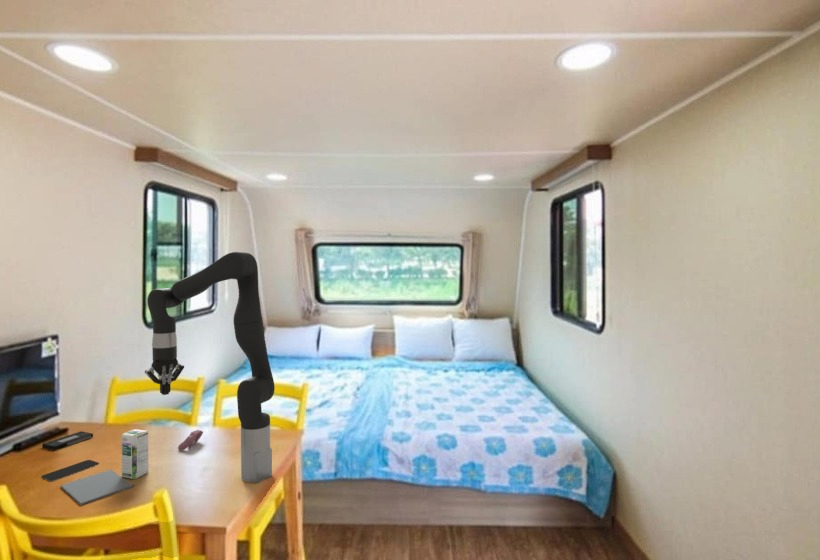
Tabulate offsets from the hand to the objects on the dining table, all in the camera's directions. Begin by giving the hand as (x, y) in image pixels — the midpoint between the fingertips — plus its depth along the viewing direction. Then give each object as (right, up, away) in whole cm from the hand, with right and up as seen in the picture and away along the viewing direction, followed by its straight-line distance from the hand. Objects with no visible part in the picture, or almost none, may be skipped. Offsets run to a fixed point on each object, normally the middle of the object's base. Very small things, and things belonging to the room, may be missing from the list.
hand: (165, 394), depth 159 cm
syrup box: (-6, -25, -7) cm, 27 cm away
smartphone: (-30, -26, -4) cm, 40 cm away
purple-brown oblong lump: (+1, -25, +17) cm, 30 cm away
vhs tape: (-50, -25, +21) cm, 59 cm away
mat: (-13, -25, -16) cm, 33 cm away
